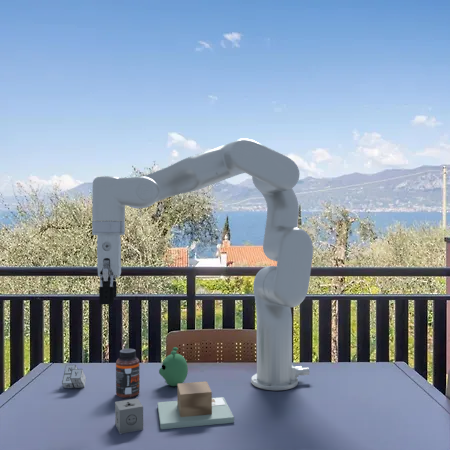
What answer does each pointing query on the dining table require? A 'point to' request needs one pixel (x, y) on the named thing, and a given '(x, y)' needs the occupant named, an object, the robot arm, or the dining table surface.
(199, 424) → the build board
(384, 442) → the dining table surface
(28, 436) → the dining table surface
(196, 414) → the base brick
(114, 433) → the dining table surface
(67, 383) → the building blocks
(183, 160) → the robot arm
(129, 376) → the supplement bottle
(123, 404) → the dice cube
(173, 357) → the alien toy
